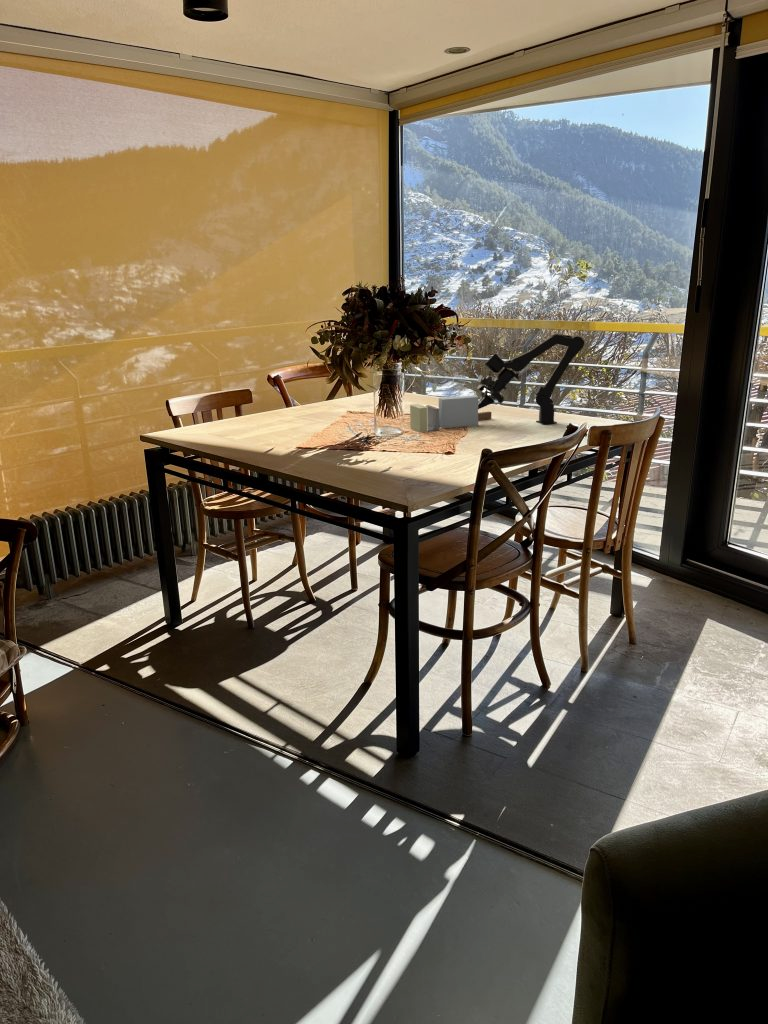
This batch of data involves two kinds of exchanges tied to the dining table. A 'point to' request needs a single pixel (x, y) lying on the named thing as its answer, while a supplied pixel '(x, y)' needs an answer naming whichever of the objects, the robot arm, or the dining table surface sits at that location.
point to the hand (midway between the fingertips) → (476, 408)
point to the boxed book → (458, 411)
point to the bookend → (433, 418)
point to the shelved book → (419, 417)
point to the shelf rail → (484, 415)
